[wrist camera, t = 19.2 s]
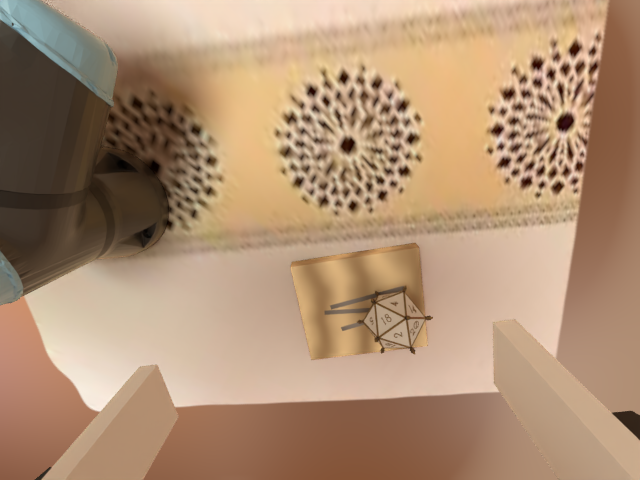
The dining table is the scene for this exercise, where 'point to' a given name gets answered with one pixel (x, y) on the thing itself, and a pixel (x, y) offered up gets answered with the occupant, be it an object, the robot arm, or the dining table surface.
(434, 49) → the dining table surface
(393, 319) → the game die
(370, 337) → the board
